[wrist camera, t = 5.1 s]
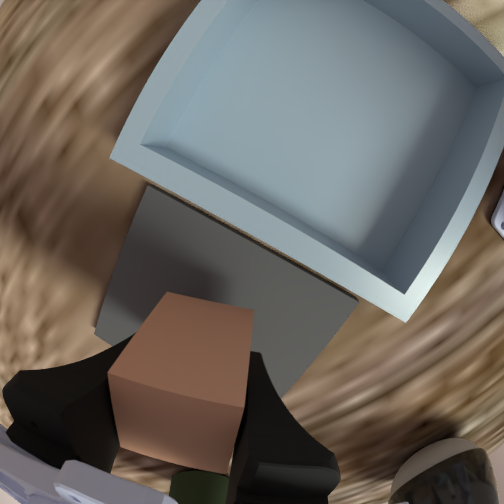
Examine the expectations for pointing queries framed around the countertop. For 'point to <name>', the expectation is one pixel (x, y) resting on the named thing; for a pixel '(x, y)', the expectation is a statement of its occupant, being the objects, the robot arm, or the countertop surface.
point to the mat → (221, 284)
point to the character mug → (199, 488)
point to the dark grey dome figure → (446, 475)
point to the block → (184, 382)
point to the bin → (329, 132)
